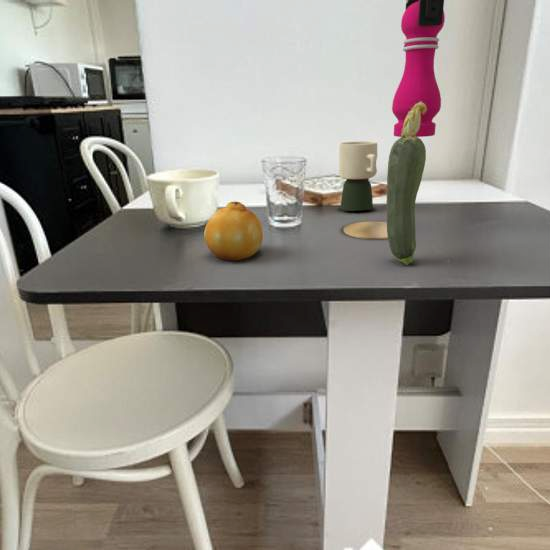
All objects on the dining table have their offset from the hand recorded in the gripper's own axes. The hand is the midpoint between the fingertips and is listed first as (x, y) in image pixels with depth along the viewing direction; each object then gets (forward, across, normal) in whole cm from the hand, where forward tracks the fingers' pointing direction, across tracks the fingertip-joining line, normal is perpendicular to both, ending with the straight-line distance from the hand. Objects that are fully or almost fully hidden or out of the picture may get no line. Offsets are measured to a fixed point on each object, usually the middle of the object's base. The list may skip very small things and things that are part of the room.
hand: (422, 28), depth 64 cm
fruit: (+30, -12, +28) cm, 43 cm away
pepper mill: (+15, 0, 0) cm, 15 cm away
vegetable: (+30, -18, +6) cm, 35 cm away
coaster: (+30, -2, +6) cm, 31 cm away
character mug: (+30, +13, +6) cm, 33 cm away
